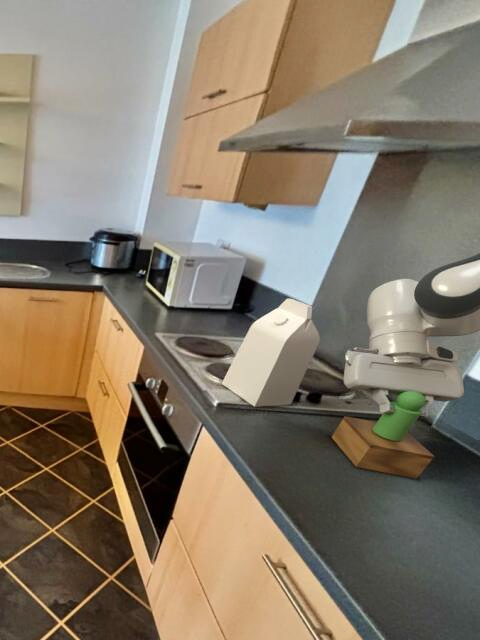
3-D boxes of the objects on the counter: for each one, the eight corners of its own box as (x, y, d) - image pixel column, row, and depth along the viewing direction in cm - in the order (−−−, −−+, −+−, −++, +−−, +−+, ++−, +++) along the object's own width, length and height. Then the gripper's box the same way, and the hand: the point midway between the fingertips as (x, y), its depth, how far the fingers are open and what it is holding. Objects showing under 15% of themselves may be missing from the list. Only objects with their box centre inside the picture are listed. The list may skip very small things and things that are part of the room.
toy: (393, 430, 90) (423, 389, 85) (407, 443, 86) (439, 400, 81) (367, 425, 91) (395, 384, 86) (380, 438, 87) (410, 396, 82)
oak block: (385, 447, 95) (400, 426, 92) (416, 478, 86) (434, 456, 83) (331, 437, 97) (344, 416, 94) (355, 466, 88) (371, 444, 85)
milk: (290, 404, 109) (341, 311, 96) (254, 406, 107) (301, 311, 94) (255, 381, 120) (297, 294, 107) (221, 383, 117) (260, 294, 104)
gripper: (357, 340, 87) (361, 404, 83) (467, 354, 84) (476, 420, 81) (334, 351, 93) (337, 410, 89) (435, 363, 90) (443, 425, 87)
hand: (404, 415), depth 85 cm, fingers closed on toy, 5 cm apart
